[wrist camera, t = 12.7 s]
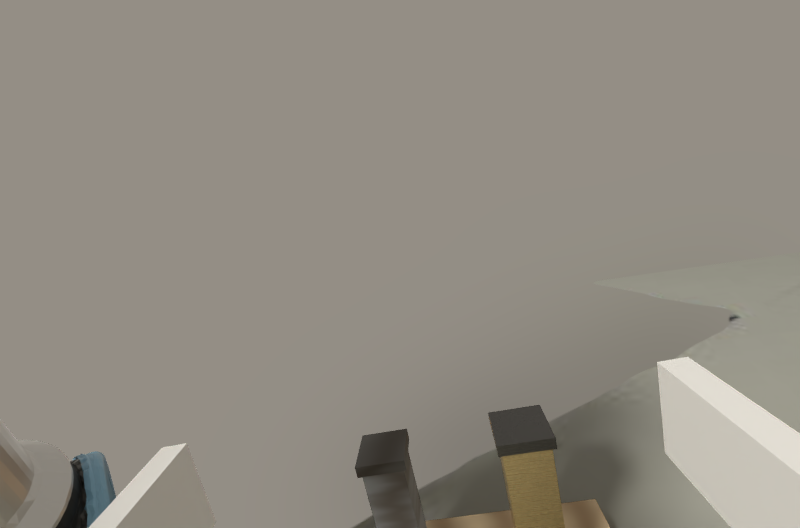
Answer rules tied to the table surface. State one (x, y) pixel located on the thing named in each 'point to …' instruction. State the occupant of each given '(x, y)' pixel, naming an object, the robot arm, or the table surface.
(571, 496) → the table surface
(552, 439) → the brass leg
